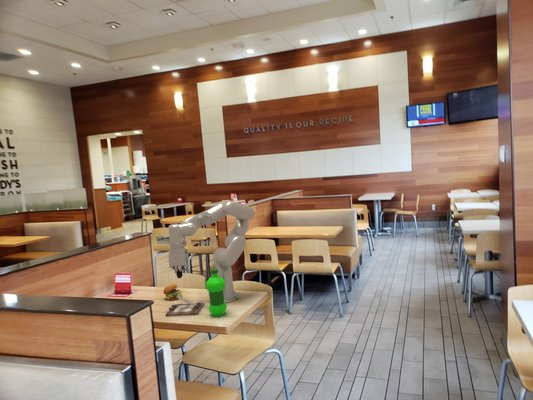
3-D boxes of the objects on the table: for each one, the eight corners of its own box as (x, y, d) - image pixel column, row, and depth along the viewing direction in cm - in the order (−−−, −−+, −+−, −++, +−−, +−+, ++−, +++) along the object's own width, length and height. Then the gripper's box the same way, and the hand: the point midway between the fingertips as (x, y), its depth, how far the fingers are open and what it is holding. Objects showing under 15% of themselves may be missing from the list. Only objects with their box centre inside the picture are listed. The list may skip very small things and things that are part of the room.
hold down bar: (198, 306, 223) (198, 305, 223) (197, 307, 221) (197, 306, 221) (175, 295, 224) (175, 293, 223) (173, 296, 221) (174, 295, 221)
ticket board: (204, 304, 230) (203, 299, 229) (197, 314, 214) (196, 308, 214) (174, 306, 231) (174, 300, 231) (165, 316, 215) (164, 310, 215)
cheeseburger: (179, 300, 241) (173, 285, 240) (164, 305, 243) (158, 290, 242) (185, 294, 251) (180, 280, 250) (170, 299, 253) (165, 284, 252)
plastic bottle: (207, 318, 207) (202, 272, 205) (211, 311, 217) (206, 267, 215) (226, 317, 206) (221, 271, 204) (228, 310, 217) (224, 266, 215)
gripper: (191, 243, 223) (194, 275, 224) (166, 245, 224) (169, 276, 225) (187, 246, 215) (190, 279, 217) (161, 248, 216) (164, 280, 218)
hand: (179, 277), depth 221 cm, fingers closed
